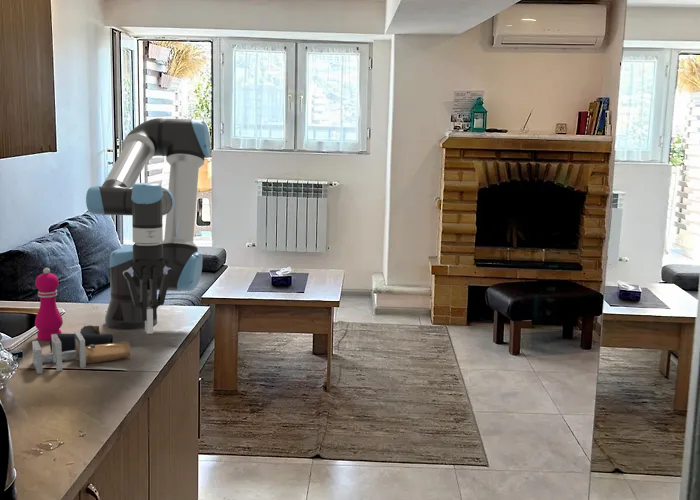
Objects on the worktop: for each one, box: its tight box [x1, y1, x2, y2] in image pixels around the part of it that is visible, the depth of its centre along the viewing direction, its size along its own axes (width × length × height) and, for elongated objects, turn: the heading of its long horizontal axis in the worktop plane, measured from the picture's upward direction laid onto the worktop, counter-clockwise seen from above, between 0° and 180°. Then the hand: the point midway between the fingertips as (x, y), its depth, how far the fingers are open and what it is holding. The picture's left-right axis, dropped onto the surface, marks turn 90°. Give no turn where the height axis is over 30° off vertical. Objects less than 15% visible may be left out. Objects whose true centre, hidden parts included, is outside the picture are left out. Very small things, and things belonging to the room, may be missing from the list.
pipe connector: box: [49, 324, 114, 353], centre depth 199 cm, size 12×5×15 cm
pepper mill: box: [34, 267, 64, 342], centre depth 206 cm, size 7×7×20 cm
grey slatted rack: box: [31, 331, 87, 375], centre depth 185 cm, size 11×9×7 cm
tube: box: [78, 340, 131, 364], centre depth 190 cm, size 12×4×4 cm, turn 119°
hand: (149, 332), depth 194 cm, fingers closed
